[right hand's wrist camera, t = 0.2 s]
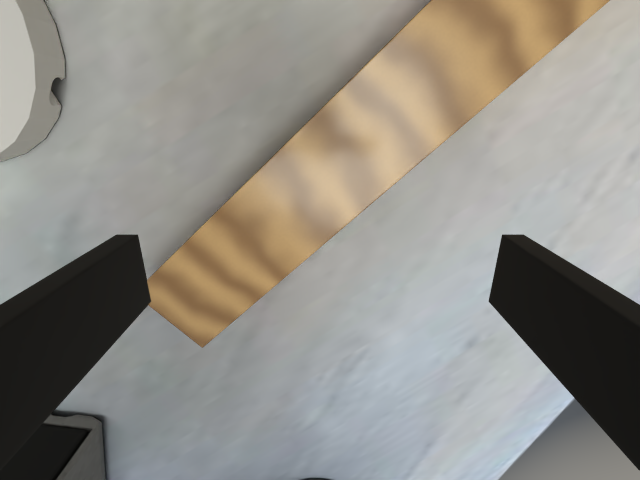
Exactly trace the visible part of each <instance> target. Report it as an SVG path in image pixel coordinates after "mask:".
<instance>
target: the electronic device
mask: <svg viewBox="0 0 640 480" xmlns="http://www.w3.org/2000/svg"><path fill="white" fill-rule="evenodd" d="M0 480H106V479H105V465H104V450H103V435H102V422H100V421H99V420H97V419H95V418H94V417H92V416H84V415H74V416H69V417H60V416H53V415H50V416H49V417H48V418H47V419H46V420H45V421H44V422H43V424H42V425H41V426H40V427H39V428H38V429H37V430H36V431H35V433H34V434H33V435H32V436H31V437H30V438H29V439H28V440H27V442H26V443H25V444H24V445H23V446H22V447H21V448H20V449H19V451H18V452H17V453H16V454H15V455H14V456H13V457H12V458H11V460H10V461H9V462H8V463H7V464H6V465H5V466H4V467H3V468H2V470H0Z"/></svg>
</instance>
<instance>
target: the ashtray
mask: <svg viewBox="0 0 640 480" xmlns="http://www.w3.org/2000/svg"><path fill="white" fill-rule="evenodd" d="M57 77H58V78H60V79H61V80H62V79H64V78H65V59H64V55H63V51H62V47H61V43H60V40H59V36H58V32H57V28H56V25H55V23H54V21H53V19H52V17H51V15H50V13H49V10H48V8H47V6H46V4H45V2H44V0H0V162H1V161H5V160H8V159H11V158H14V157H17V156H20V155H23V154H26V153H27V152H29V151H30V150H31V149H33V148H34V147H35V146H36V145H38V144H39V143H40V142H42V141H43V140H44V139H45V138H46V137H47V135H48V134H49V132H50V130H51V129H52V127H53V126H54V124H55V123H56V121H57V119H58V118H59V114H60V110H61V105H60V103H59V102H58V100H57V99H56V97H55V96H54V94H53V93H52V91H51V86H52V82H53V80H54V79H55V78H57Z"/></svg>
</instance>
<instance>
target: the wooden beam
mask: <svg viewBox="0 0 640 480" xmlns="http://www.w3.org/2000/svg"><path fill="white" fill-rule="evenodd" d="M609 1H610V0H431V1H430V2H429V3H428V4H427V5H426V6H425V7H424V8H423V9H422V10H421V11H420V12H419V13H418V14H417V15H416V16H415V17H414V18H413V19H412V20H411V21H410V22H409V23H408V24H407V25H406V26H405V27H404V28H403V29H402V30H401V31H400V32H399V33H398V34H397V35H396V36H394V37H393V38H392V39H391V40H390V41H389V42H388V43H387V44H386V45H385V46H384V47H383V48H382V49H381V50H380V51H379V52H378V53H377V54H376V55H375V56H374V57H373V58H372V59H371V60H370V61H369V62H368V63H367V64H366V65H365V66H364V67H363V68H362V69H361V70H360V71H359V72H358V73H357V74H356V75H355V76H354V77H353V78H352V79H351V80H350V81H349V82H348V83H347V84H346V85H345V86H344V87H343V88H342V89H341V90H340V91H339V92H338V93H337V94H336V95H335V96H334V97H333V98H332V99H331V100H329V101H328V102H327V103H326V104H325V105H324V106H323V107H322V108H321V109H320V110H319V111H318V112H317V113H316V114H315V115H314V116H313V117H312V118H311V119H310V120H309V121H308V122H307V123H306V124H305V125H304V126H303V127H302V128H301V129H300V130H299V131H298V132H297V133H296V134H295V135H294V136H293V137H292V138H291V139H290V140H289V141H288V142H287V143H286V144H285V145H284V146H283V147H282V148H281V149H280V150H279V151H278V152H277V153H276V154H275V155H274V156H273V157H272V158H271V159H270V160H269V161H268V162H267V163H266V164H264V165H263V166H262V167H261V168H260V169H259V170H258V171H257V172H256V173H255V174H254V175H253V176H252V177H251V178H250V179H249V180H248V181H247V182H246V183H245V184H244V185H243V186H242V187H241V188H240V189H239V190H238V191H237V192H236V193H235V194H234V195H233V196H232V197H231V198H230V199H229V200H228V201H227V202H226V203H225V204H224V205H223V206H222V207H221V208H220V209H219V210H218V211H217V212H216V213H215V214H214V215H213V216H212V217H211V218H210V219H209V220H208V221H207V222H206V223H205V224H204V225H203V226H202V227H201V228H200V229H198V230H197V231H196V232H195V233H194V234H193V235H192V236H191V237H190V238H189V239H188V240H187V241H186V242H185V243H184V244H183V245H182V246H181V247H180V248H179V249H178V250H177V251H176V252H175V253H174V254H173V255H172V256H171V257H170V258H169V259H168V260H167V261H166V262H165V263H164V264H163V265H162V266H161V267H160V268H159V269H158V270H157V271H156V272H155V273H154V274H153V275H152V276H151V277H150V278H149V279H148V280H147V283H148V288H149V293H150V297H151V302H150V303H149V306H150V307H151V308H153V309H154V310H155V311H156V312H158V313H159V314H160V315H162V316H163V317H164V318H165V319H167V320H168V321H169V322H170V323H172V324H173V325H174V326H175V327H177V328H178V329H179V330H181V331H182V332H183V333H184V334H186V335H187V336H188V337H189V338H191V339H192V340H193V341H194V342H196V343H197V344H198V345H200V346H201V347H204V346H205V345H206V344H207V343H209V342H210V341H211V340H212V339H213V338H214V337H216V336H217V335H218V334H219V333H220V332H221V331H223V330H224V329H225V328H226V327H227V326H229V325H230V324H231V323H232V322H233V321H234V320H236V319H237V318H238V317H239V316H240V315H241V314H243V313H244V312H245V311H246V310H247V309H248V308H250V307H251V306H252V305H253V304H254V303H256V302H257V301H258V300H259V299H260V298H261V297H263V296H264V295H265V294H266V293H267V292H268V291H270V290H271V289H272V288H273V287H274V286H275V285H277V284H278V283H279V282H280V281H281V280H282V279H284V278H285V277H286V276H287V275H288V274H290V273H291V272H292V271H293V270H294V269H295V268H297V267H298V266H299V265H300V264H301V263H302V262H304V261H305V260H306V259H307V258H308V257H309V256H311V255H312V254H313V253H314V252H315V251H317V250H318V249H319V248H320V247H321V246H322V245H324V244H325V243H326V242H327V241H328V240H329V239H331V238H332V237H333V236H334V235H335V234H336V233H338V232H339V231H340V230H341V229H342V228H343V227H345V226H346V225H347V224H348V223H349V222H351V221H352V220H353V219H354V218H355V217H356V216H358V215H359V214H360V213H361V212H362V211H363V210H365V209H366V208H367V207H368V206H369V205H370V204H372V203H373V202H374V201H375V200H376V199H378V198H379V197H380V196H381V195H382V194H383V193H385V192H386V191H387V190H388V189H389V188H390V187H392V186H393V185H394V184H395V183H396V182H397V181H399V180H400V179H401V178H402V177H403V176H404V175H406V174H407V173H408V172H409V171H410V170H412V169H413V168H414V167H415V166H416V165H417V164H419V163H420V162H421V161H422V160H423V159H424V158H426V157H427V156H428V155H429V154H430V153H431V152H433V151H434V150H435V149H436V148H437V147H438V146H440V145H441V144H442V143H443V142H444V141H446V140H447V139H448V138H449V137H450V136H451V135H453V134H454V133H455V132H456V131H457V130H458V129H460V128H461V127H462V126H463V125H464V124H465V123H467V122H468V121H469V120H470V119H471V118H473V117H474V116H475V115H476V114H477V113H478V112H480V111H481V110H482V109H483V108H484V107H485V106H487V105H488V104H489V103H490V102H491V101H492V100H494V99H495V98H496V97H497V96H498V95H499V94H501V93H502V92H503V91H504V90H505V89H507V88H508V87H509V86H510V85H511V84H512V83H514V82H515V81H516V80H517V79H518V78H519V77H521V76H522V75H523V74H524V73H525V72H526V71H528V70H529V69H530V68H531V67H532V66H534V65H535V64H536V63H537V62H538V61H539V60H541V59H542V58H543V57H544V56H545V55H546V54H548V53H549V52H550V51H551V50H552V49H553V48H555V47H556V46H557V45H558V44H559V43H560V42H562V41H563V40H564V39H565V38H566V37H568V36H569V35H570V34H571V33H572V32H573V31H575V30H576V29H577V28H578V27H579V26H580V25H582V24H583V23H584V22H585V21H586V20H587V19H589V18H590V17H591V16H592V15H593V14H595V13H596V12H597V11H598V10H599V9H600V8H602V7H603V6H604V5H605V4H606V3H607V2H609Z"/></svg>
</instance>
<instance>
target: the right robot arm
mask: <svg viewBox="0 0 640 480" xmlns="http://www.w3.org/2000/svg"><path fill="white" fill-rule="evenodd" d="M150 302H151V297H150V293H149V288H148V283H147V278H146V273H145V268H144V263H143V258H142V253H141V248H140V243H139V238H138V235H115V236H114V237H112V238H110V239H109V240H107V241H105V242H104V243H102V244H100V245H99V246H97V247H95V248H94V249H92V250H90V251H89V252H87V253H85V254H84V255H82V256H80V257H79V258H77V259H75V260H74V261H72V262H70V263H69V264H67V265H66V266H64V267H62V268H61V269H59V270H57V271H56V272H54V273H52V274H51V275H49V276H47V277H46V278H44V279H42V280H41V281H39V282H37V283H36V284H34V285H32V286H31V287H29V288H27V289H26V290H24V291H22V292H21V293H19V294H17V295H16V296H14V297H12V298H11V299H9V300H8V301H6V302H4V303H3V304H1V305H0V470H2V468H3V467H4V466H5V465H6V464H7V463H8V462H9V461H10V460H11V458H12V457H13V456H14V455H15V454H16V453H17V452H18V451H19V449H20V448H21V447H22V446H23V445H24V444H25V443H26V442H27V440H28V439H29V438H30V437H31V436H32V435H33V434H34V433H35V431H36V430H37V429H38V428H39V427H40V426H41V425H42V424H43V422H44V421H45V420H46V419H47V418H48V417H49V416H50V415H51V413H52V412H53V411H54V410H55V409H56V408H57V407H58V406H59V404H60V403H61V402H62V401H63V400H64V399H65V398H66V397H67V395H68V394H69V393H70V392H71V391H72V390H73V389H74V388H75V387H76V385H77V384H78V383H79V382H80V381H81V380H82V379H83V378H84V376H85V375H86V374H87V373H88V372H89V371H90V370H91V369H92V367H93V366H94V365H95V364H96V363H97V362H98V361H99V360H100V358H101V357H102V356H103V355H104V354H105V353H106V352H107V351H108V349H109V348H110V347H111V346H112V345H113V344H114V343H115V342H116V340H117V339H118V338H119V337H120V336H121V335H122V334H123V333H124V331H125V330H126V329H127V328H128V327H129V326H130V325H131V324H132V323H133V321H134V320H135V319H136V318H137V317H138V316H139V315H140V314H141V312H142V311H143V310H144V309H145V308H146V307H147V306H148V305H149V303H150ZM489 302H490V303H491V305H492V306H493V307H494V308H495V309H496V310H497V311H498V312H499V314H500V315H501V316H502V317H503V318H504V319H505V320H506V321H507V323H508V324H509V325H510V326H511V327H512V328H513V329H514V330H515V331H516V333H517V334H518V335H519V336H520V337H521V338H522V339H523V340H524V342H525V343H526V344H527V345H528V346H529V347H530V348H531V349H532V351H533V352H534V353H535V354H536V355H537V356H538V357H539V358H540V360H541V361H542V362H543V363H544V364H545V365H546V366H547V367H548V369H549V370H550V371H551V372H552V373H553V374H554V375H555V376H556V378H557V379H558V380H559V381H560V382H561V383H562V384H563V385H564V387H565V388H566V389H567V390H568V391H569V392H570V393H571V394H572V395H573V397H574V398H575V399H576V400H577V401H578V402H579V403H580V404H581V406H582V407H583V408H584V409H585V410H586V411H587V412H588V413H589V415H590V416H591V417H592V418H593V419H594V420H595V421H596V422H597V424H598V425H599V426H600V427H601V428H602V429H603V430H604V431H605V433H606V434H607V435H608V436H609V437H610V438H611V439H612V440H613V441H614V443H615V444H616V445H617V446H618V447H619V448H620V449H621V451H622V452H623V453H624V454H625V455H626V456H627V457H628V458H629V460H630V461H631V462H632V463H633V464H634V465H635V466H636V467H637V468H638V470H640V305H639V304H637V303H636V302H634V301H632V300H631V299H629V298H628V297H626V296H624V295H623V294H621V293H619V292H618V291H616V290H614V289H613V288H611V287H609V286H608V285H606V284H604V283H603V282H601V281H599V280H598V279H596V278H594V277H593V276H591V275H589V274H588V273H586V272H584V271H583V270H581V269H579V268H578V267H576V266H574V265H573V264H571V263H570V262H568V261H566V260H565V259H563V258H561V257H560V256H558V255H556V254H555V253H553V252H551V251H550V250H548V249H546V248H545V247H543V246H541V245H540V244H538V243H536V242H535V241H533V240H531V239H530V238H528V237H526V236H525V235H502V238H501V243H500V248H499V253H498V258H497V263H496V268H495V273H494V278H493V283H492V288H491V293H490V297H489Z"/></svg>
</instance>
